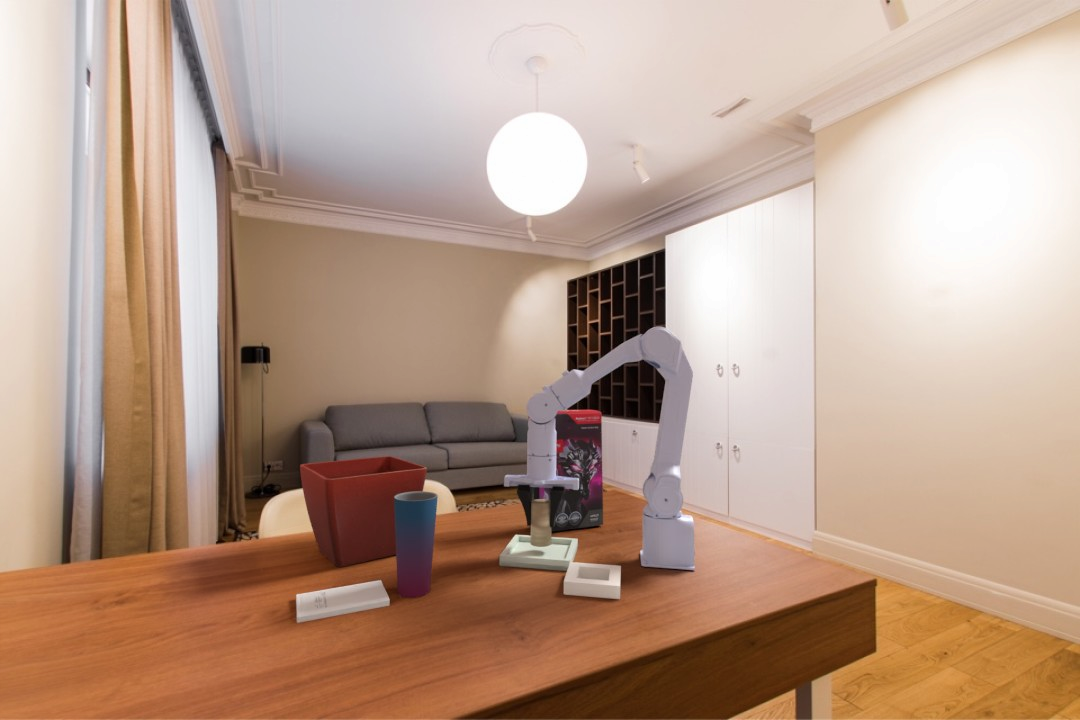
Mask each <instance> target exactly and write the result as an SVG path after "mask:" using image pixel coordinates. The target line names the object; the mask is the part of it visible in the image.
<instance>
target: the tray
mask: <svg viewBox="0 0 1080 720" xmlns="http://www.w3.org/2000/svg"><path fill="white" fill-rule="evenodd" d="M578 540H579V539H578V538H571V537H559V536H557V537H556V536H551V545H549V546H546V547H536V546H533V545H531V534H530V535H528V534H527V535H526V534H514V536H513V537H512V538H511V540H510V541H509V543H508V544H507V545H506V547H504V549H503V551H502V552H501V553H500V554H499V561H498V562H499V567H511V568H512V567H513V568H523V569H524V568H525V569H526V568H527V569H537V570H538V569H539V570H550V571H552V570H553V571H561V572H562V571H564V572H567V570H568V567H569V564H570V562H575V561H574V560H575V557H576V554H577V551H578V545H579V544H578Z"/></svg>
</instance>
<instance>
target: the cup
mask: <svg viewBox="0 0 1080 720" xmlns="http://www.w3.org/2000/svg"><path fill="white" fill-rule="evenodd" d="M438 497H439V496H438V494H437V493H435V492H432V491H424V490H423V491H416V492H405V493H401V494H397V495H395V496H394V507H395V535H396V556H395V559H396V560H395V561H396V583H397V584H396V587H397V588H396V589H397V595H398V596H399V597H402V598H409V599H410V598H413V599H414V598H420V597H423V596H426V595H427V594H429V592H430V591H431V579H432V569H433V568H432V567H433V557H434V544H435V534H436V533H435V532H436V531H435V530H436V519H437V508H438Z"/></svg>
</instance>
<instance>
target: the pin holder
mask: <svg viewBox="0 0 1080 720" xmlns="http://www.w3.org/2000/svg"><path fill="white" fill-rule="evenodd" d="M621 576H622V566H621V565H616V564H601V563H589V562H576V561H573V562H570V564H569V567H568V570H567V571H566V573H565V576H564V579H563V595H565V596H566V595H567V596H576V597H577V596H579V597H590V598H599V599H601V598H602V599H613V600H621V582H622V581H621V580H622V579H621Z"/></svg>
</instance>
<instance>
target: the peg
mask: <svg viewBox="0 0 1080 720" xmlns="http://www.w3.org/2000/svg"><path fill="white" fill-rule="evenodd" d="M550 514H551V503H550V500H546V499H536V500H532V501H531V528H530V536H531V545H533V546H536V547H546V546H549V545H551V537H552V532H551V527H550Z"/></svg>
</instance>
